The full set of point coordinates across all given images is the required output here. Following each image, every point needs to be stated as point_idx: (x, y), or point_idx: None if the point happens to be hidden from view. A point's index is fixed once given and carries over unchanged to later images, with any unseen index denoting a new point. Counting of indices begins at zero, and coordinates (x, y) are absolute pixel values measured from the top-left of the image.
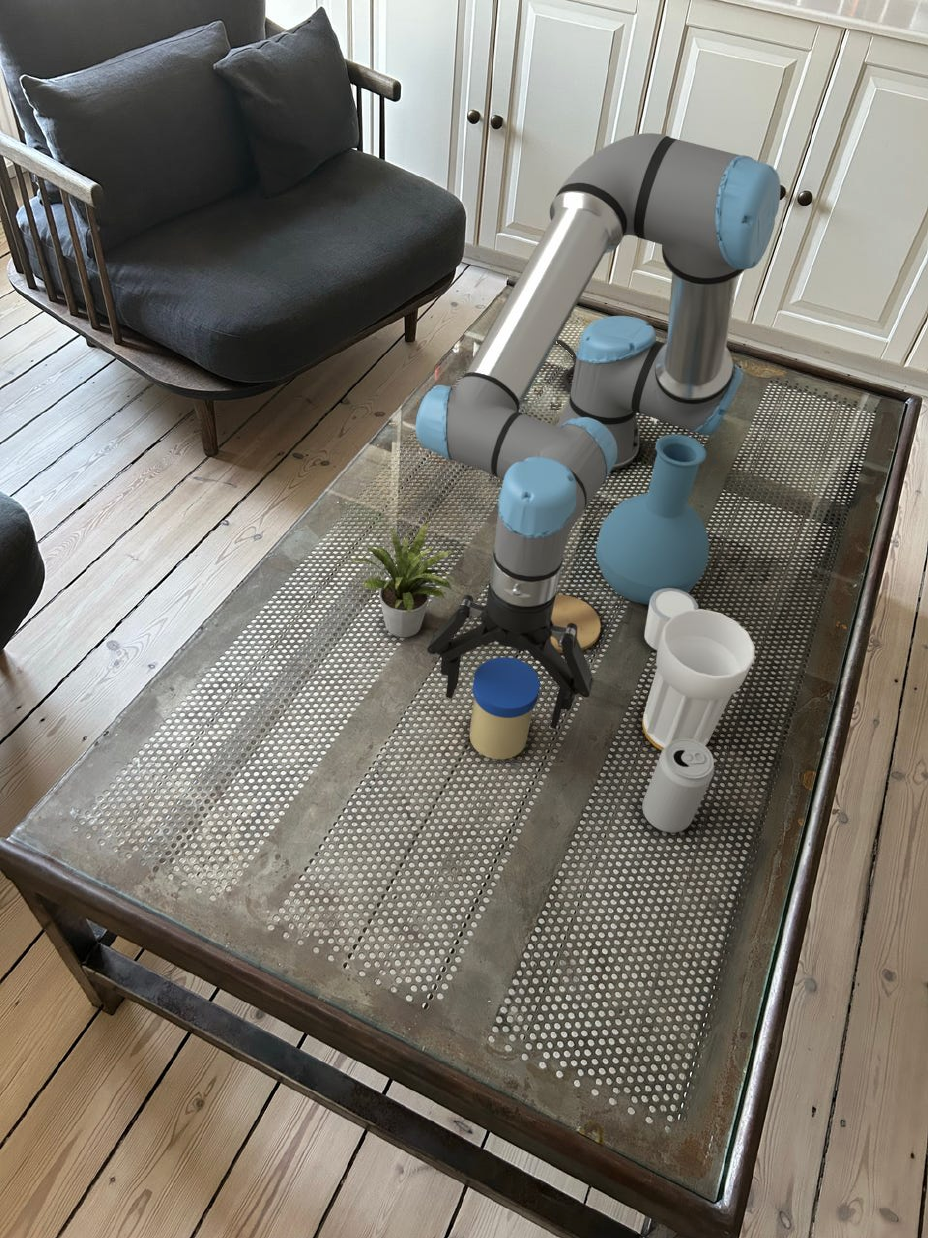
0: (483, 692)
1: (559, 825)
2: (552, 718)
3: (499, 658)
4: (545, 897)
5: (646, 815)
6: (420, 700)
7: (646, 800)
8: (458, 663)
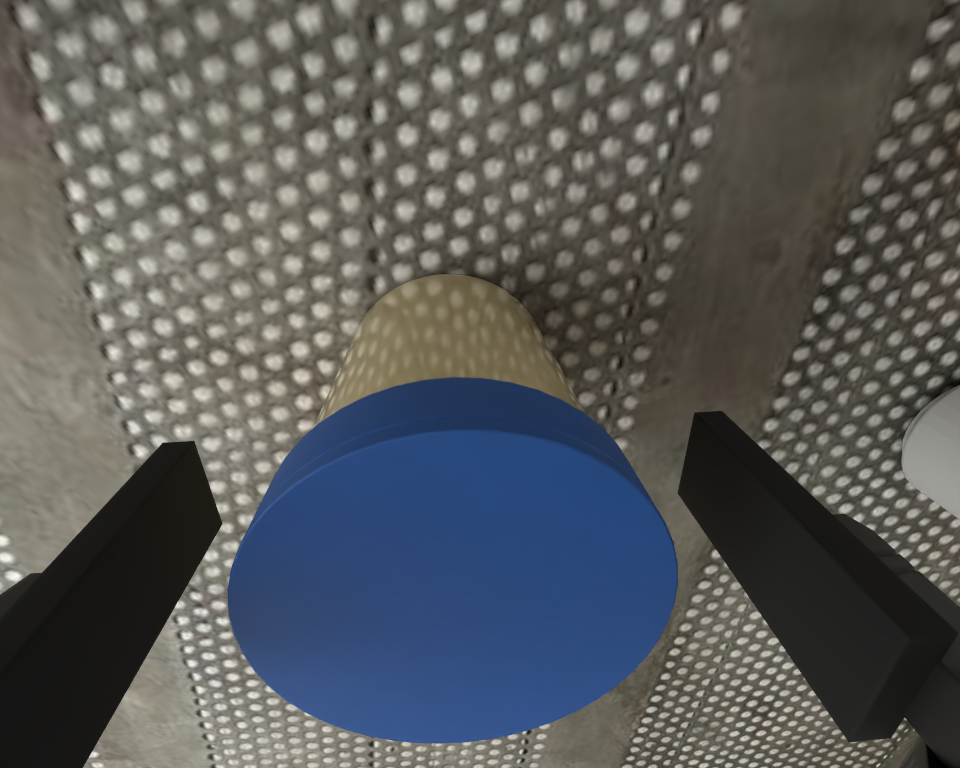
0: (356, 711)
1: (674, 546)
2: (713, 542)
3: (326, 479)
4: (659, 669)
5: (915, 485)
6: (127, 335)
7: (950, 495)
8: (74, 649)
